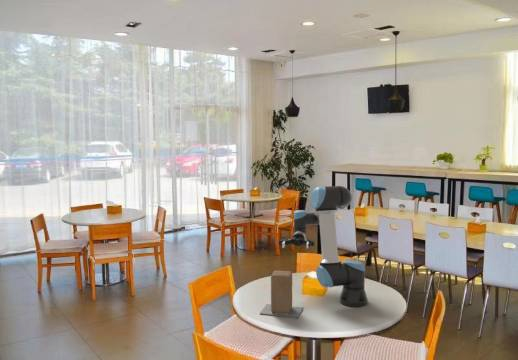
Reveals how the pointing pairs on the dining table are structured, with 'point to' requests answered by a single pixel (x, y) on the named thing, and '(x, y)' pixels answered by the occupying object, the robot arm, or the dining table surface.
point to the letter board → (293, 313)
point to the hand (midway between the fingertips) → (294, 246)
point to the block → (281, 292)
